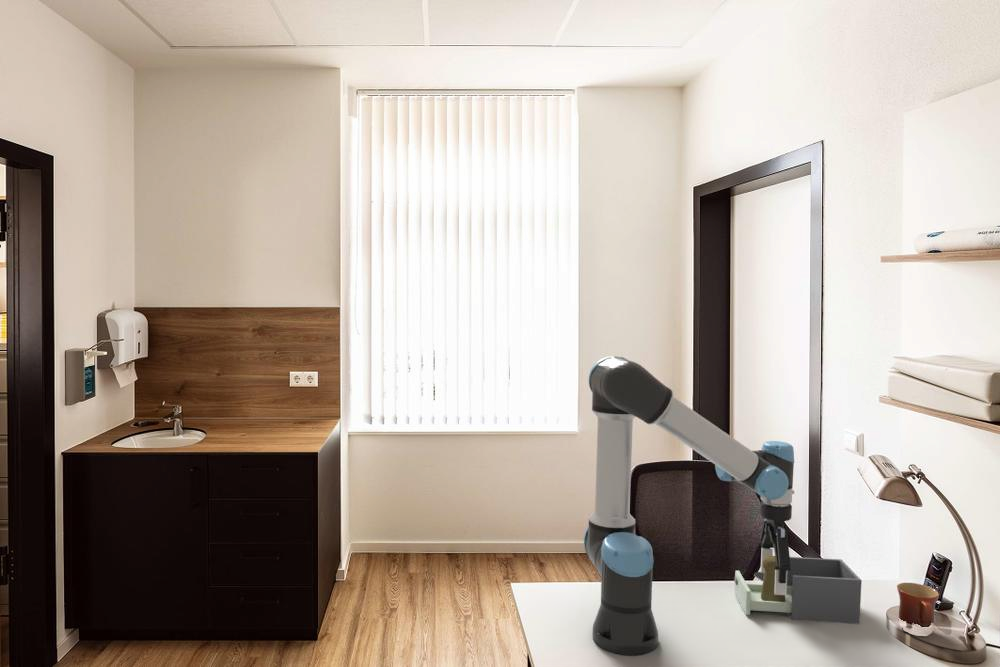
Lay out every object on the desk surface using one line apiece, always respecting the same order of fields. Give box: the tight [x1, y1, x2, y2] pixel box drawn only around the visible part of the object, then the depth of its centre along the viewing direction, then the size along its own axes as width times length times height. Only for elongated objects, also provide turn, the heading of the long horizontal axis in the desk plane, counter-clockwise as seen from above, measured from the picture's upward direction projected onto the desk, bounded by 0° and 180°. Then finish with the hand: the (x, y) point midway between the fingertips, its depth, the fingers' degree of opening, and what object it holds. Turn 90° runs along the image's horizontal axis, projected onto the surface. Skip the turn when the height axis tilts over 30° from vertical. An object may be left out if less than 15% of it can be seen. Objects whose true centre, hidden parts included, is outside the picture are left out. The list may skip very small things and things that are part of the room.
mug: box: [896, 582, 940, 627], centre depth 170 cm, size 12×9×10 cm
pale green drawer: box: [734, 570, 792, 616], centre depth 184 cm, size 15×13×6 cm
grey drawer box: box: [786, 556, 862, 625], centre depth 183 cm, size 16×14×11 cm
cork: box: [761, 555, 786, 602], centre depth 184 cm, size 6×6×11 cm
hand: (772, 583), depth 184 cm, fingers open, 13 cm apart
